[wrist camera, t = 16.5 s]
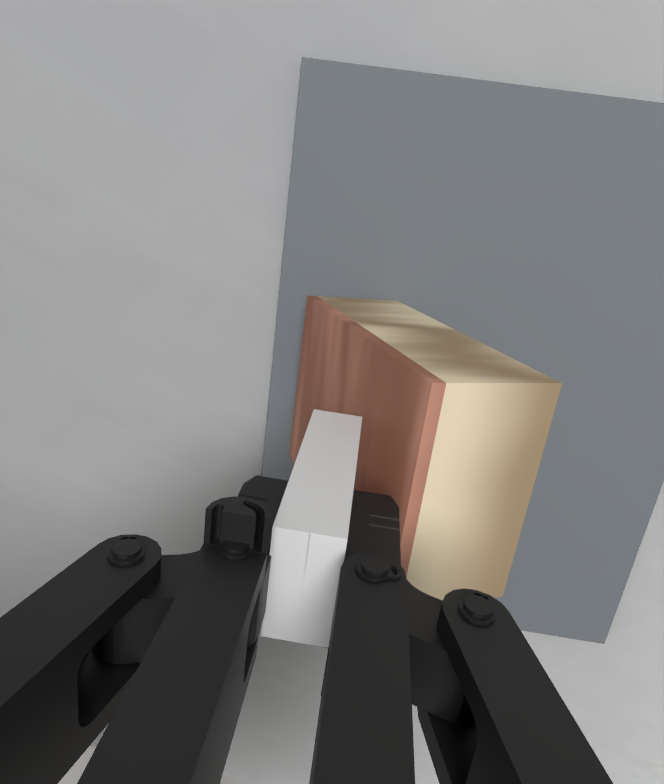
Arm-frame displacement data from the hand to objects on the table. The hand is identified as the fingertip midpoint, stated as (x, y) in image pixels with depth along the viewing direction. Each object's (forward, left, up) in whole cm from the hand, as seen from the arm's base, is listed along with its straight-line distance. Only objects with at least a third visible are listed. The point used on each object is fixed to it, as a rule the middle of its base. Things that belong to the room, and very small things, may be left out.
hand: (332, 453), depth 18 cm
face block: (0, 0, -7) cm, 7 cm away
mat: (+6, 0, -9) cm, 10 cm away
